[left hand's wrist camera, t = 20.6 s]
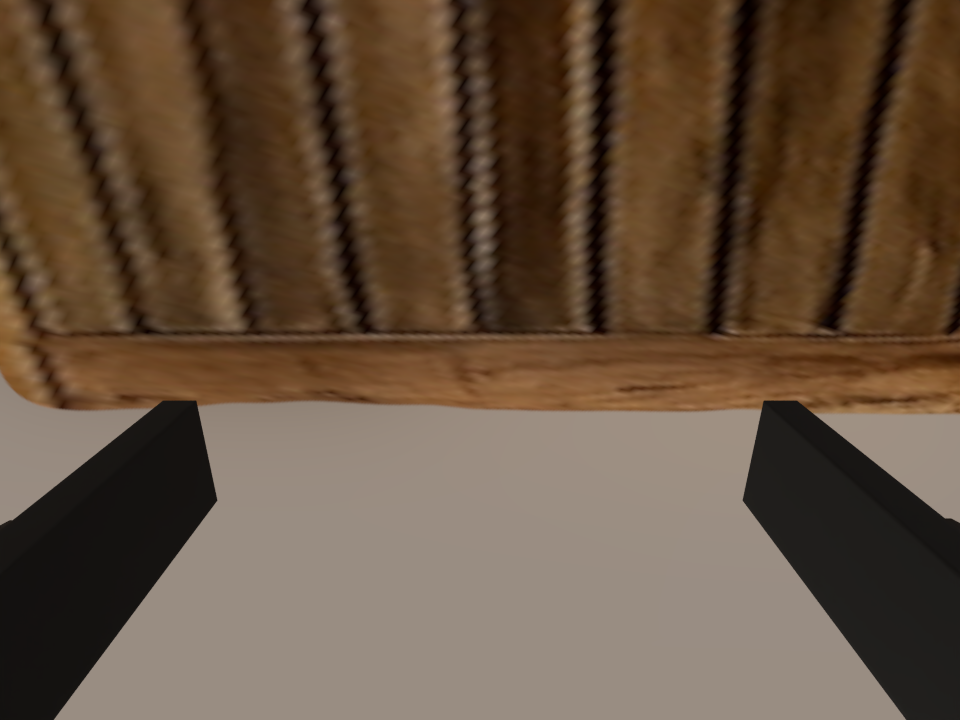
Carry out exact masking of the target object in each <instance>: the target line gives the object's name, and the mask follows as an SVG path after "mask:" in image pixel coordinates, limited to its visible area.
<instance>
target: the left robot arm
mask: <svg viewBox="0 0 960 720" xmlns="http://www.w3.org/2000/svg"><path fill="white" fill-rule="evenodd" d="M216 502H217V497H216V492H215V487H214V482H213V478H212V473H211V468H210V463H209V459H208V454H207V449H206V445H205V440H204V435H203V430H202V426H201V421H200V416H199V411H198V407H197V402H196V401H162V402H161V403H160V404H158V405H157V406H156V407H155V408H153V409H152V410H151V411H150V412H148V413H147V414H146V415H145V416H143V417H142V418H141V419H139V420H138V421H137V422H136V423H134V424H133V425H132V426H131V427H129V428H128V429H127V430H126V431H124V432H123V433H122V434H121V435H119V436H118V437H117V438H116V439H114V440H113V441H112V442H111V443H109V444H108V445H107V446H106V447H104V448H103V449H102V450H101V451H99V452H98V453H97V454H96V455H94V456H93V457H92V458H90V459H89V460H88V461H87V462H85V463H84V464H83V465H82V466H81V467H79V468H78V469H77V470H75V471H74V472H73V473H72V474H70V475H69V476H68V477H67V478H65V479H64V480H63V481H62V482H60V483H59V484H58V485H57V486H55V487H54V488H53V489H52V490H50V491H49V492H48V493H47V494H45V495H44V496H43V497H41V498H40V499H39V500H38V501H36V502H35V503H34V504H33V505H31V506H30V507H29V508H28V509H27V510H25V511H24V512H23V513H21V514H20V515H19V516H18V517H16V518H15V519H14V520H10V521H8V522H6V523H4V524H2V525H0V720H54V719H55V717H56V716H57V715H58V713H59V712H60V711H61V709H62V708H63V707H64V705H65V704H66V703H67V701H68V700H69V699H70V697H71V696H72V694H73V693H74V692H75V690H76V689H77V688H78V686H79V685H80V684H81V682H82V681H83V680H84V678H85V677H86V676H87V674H88V673H89V672H90V670H91V669H92V668H93V666H94V665H95V664H96V662H97V661H98V660H99V658H100V657H101V656H102V654H103V653H104V652H105V650H106V649H107V648H108V646H109V645H110V643H111V642H112V641H113V640H114V638H115V637H116V636H117V634H118V633H119V631H120V630H121V629H122V627H123V626H124V625H125V623H126V622H127V621H128V619H129V618H130V617H131V615H132V614H133V613H134V611H135V610H136V609H137V607H138V606H139V605H140V603H141V602H142V601H143V599H144V598H145V597H146V595H147V594H148V593H149V591H150V590H151V589H152V587H153V586H154V585H155V583H156V582H157V580H158V579H159V578H160V577H161V575H162V574H163V573H164V571H165V570H166V569H167V567H168V566H169V564H170V563H171V562H172V560H173V559H174V558H175V556H176V555H177V554H178V552H179V551H180V550H181V548H182V547H183V546H184V544H185V543H186V542H187V540H188V539H189V538H190V536H191V535H192V534H193V532H194V531H195V530H196V528H197V527H198V526H199V524H200V523H201V522H202V520H203V519H204V518H205V516H206V515H207V514H208V512H209V511H210V510H211V508H212V507H213V506H214V504H215V503H216ZM743 502H744V503H745V504H746V506H747V507H748V508H749V510H750V511H751V512H752V514H753V515H754V516H755V518H756V519H757V520H758V522H759V523H760V524H761V526H762V527H763V528H764V530H765V531H766V532H767V534H768V535H769V536H770V538H771V539H772V540H773V542H774V543H775V544H776V546H777V547H778V548H779V550H780V551H781V552H782V554H783V555H784V556H785V558H786V559H787V560H788V562H789V563H790V564H791V566H792V567H793V569H794V570H795V571H796V573H797V574H798V575H799V577H800V578H801V579H802V581H803V582H804V583H805V585H806V586H807V587H808V589H809V590H810V591H811V593H812V594H813V595H814V597H815V598H816V599H817V601H818V602H819V603H820V605H821V606H822V607H823V609H824V610H825V611H826V613H827V614H828V615H829V617H830V618H831V619H832V621H833V622H834V623H835V625H836V626H837V627H838V629H839V630H840V631H841V633H842V634H843V636H844V637H845V638H846V640H847V641H848V642H849V644H850V645H851V646H852V648H853V649H854V650H855V652H856V653H857V654H858V656H859V657H860V658H861V660H862V661H863V662H864V664H865V665H866V666H867V668H868V669H869V670H870V672H871V673H872V674H873V676H874V677H875V678H876V680H877V681H878V682H879V684H880V685H881V686H882V688H883V689H884V690H885V692H886V693H887V694H888V696H889V697H890V698H891V700H892V701H893V702H894V704H895V705H896V707H897V708H898V709H899V711H900V712H901V713H902V714H903V716H904V717H905V719H906V720H960V523H959V522H957V521H955V520H953V519H945V518H944V517H942V516H941V515H940V514H939V513H937V512H936V511H935V510H933V509H932V508H931V507H930V506H929V505H927V504H926V503H925V502H924V501H922V500H921V499H920V498H918V497H917V496H916V495H915V494H913V493H912V492H911V491H910V490H908V489H907V488H906V487H905V486H903V485H902V484H901V483H900V482H898V481H897V480H896V479H895V478H893V477H892V476H891V475H890V474H888V473H887V472H886V471H885V470H883V469H882V468H881V467H880V466H878V465H877V464H876V463H875V462H873V461H872V460H871V459H869V458H868V457H867V456H866V455H864V454H863V453H862V452H861V451H859V450H858V449H857V448H856V447H854V446H853V445H852V444H851V443H849V442H848V441H847V440H846V439H844V438H843V437H842V436H841V435H839V434H838V433H837V432H836V431H834V430H833V429H832V428H831V427H829V426H828V425H827V424H826V423H824V422H823V421H822V420H820V419H819V418H818V417H817V416H815V415H814V414H813V413H812V412H810V411H809V410H808V409H807V408H805V407H804V406H803V405H802V404H800V403H799V402H798V401H764V402H763V407H762V411H761V416H760V421H759V426H758V431H757V435H756V440H755V445H754V449H753V454H752V459H751V463H750V468H749V473H748V478H747V482H746V487H745V492H744V497H743Z"/></svg>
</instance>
